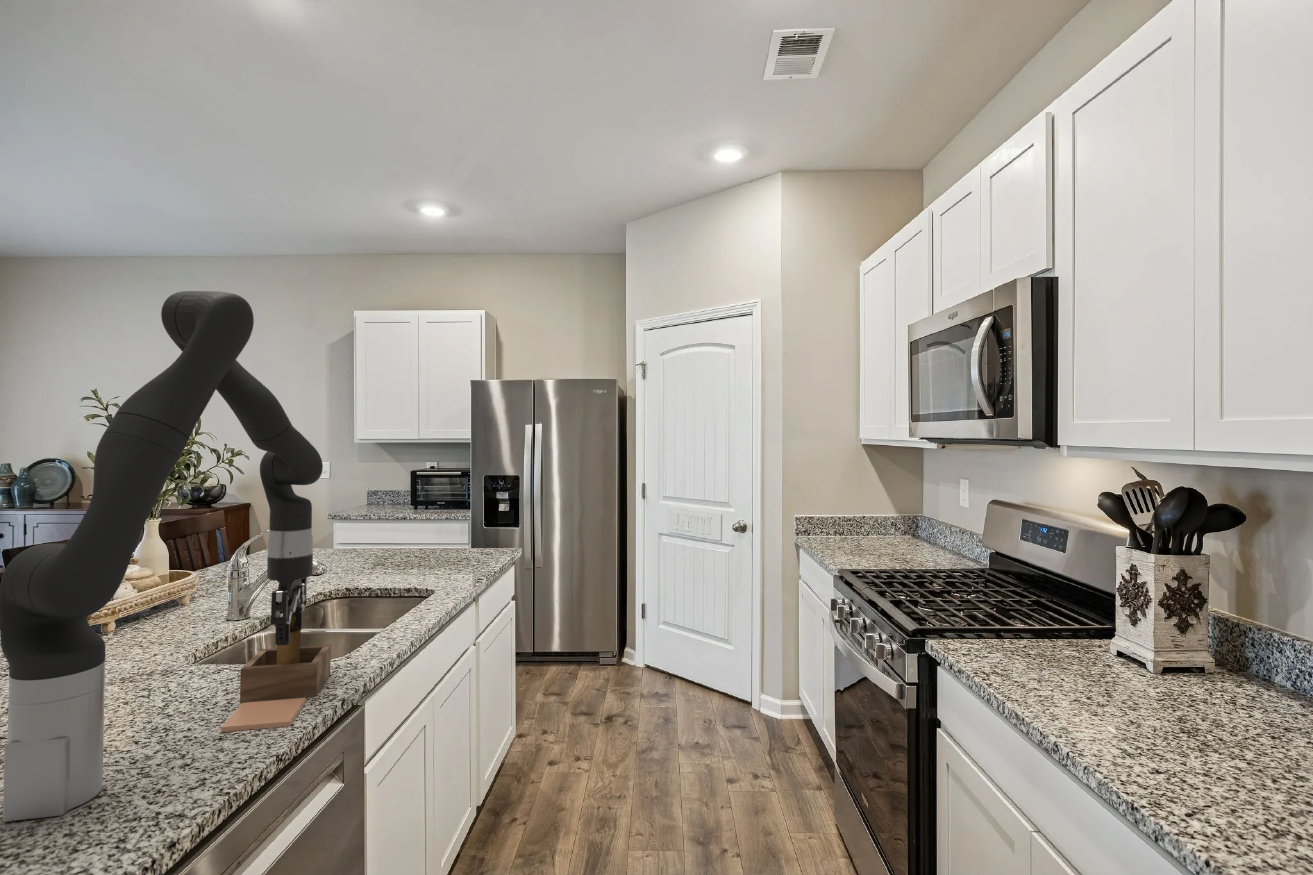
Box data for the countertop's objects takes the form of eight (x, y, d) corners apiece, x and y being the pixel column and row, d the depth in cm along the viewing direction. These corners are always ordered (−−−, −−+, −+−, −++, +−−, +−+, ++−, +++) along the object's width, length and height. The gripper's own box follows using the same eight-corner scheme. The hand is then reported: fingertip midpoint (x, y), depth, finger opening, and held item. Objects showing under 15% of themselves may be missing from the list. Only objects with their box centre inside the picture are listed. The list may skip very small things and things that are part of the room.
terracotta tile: (289, 726, 106) (289, 721, 106) (220, 732, 104) (220, 727, 104) (305, 702, 116) (305, 697, 116) (242, 707, 113) (243, 702, 114)
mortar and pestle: (289, 696, 119) (291, 598, 119) (259, 692, 120) (260, 596, 120) (315, 683, 125) (316, 590, 125) (286, 680, 126) (288, 588, 127)
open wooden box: (316, 696, 119) (316, 663, 119) (239, 702, 115) (240, 669, 115) (330, 674, 130) (330, 644, 130) (260, 679, 126) (261, 649, 126)
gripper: (302, 558, 117) (300, 648, 117) (321, 545, 131) (320, 625, 131) (255, 560, 115) (254, 651, 115) (279, 546, 129) (278, 628, 129)
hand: (289, 637), depth 123 cm, fingers open, 8 cm apart
